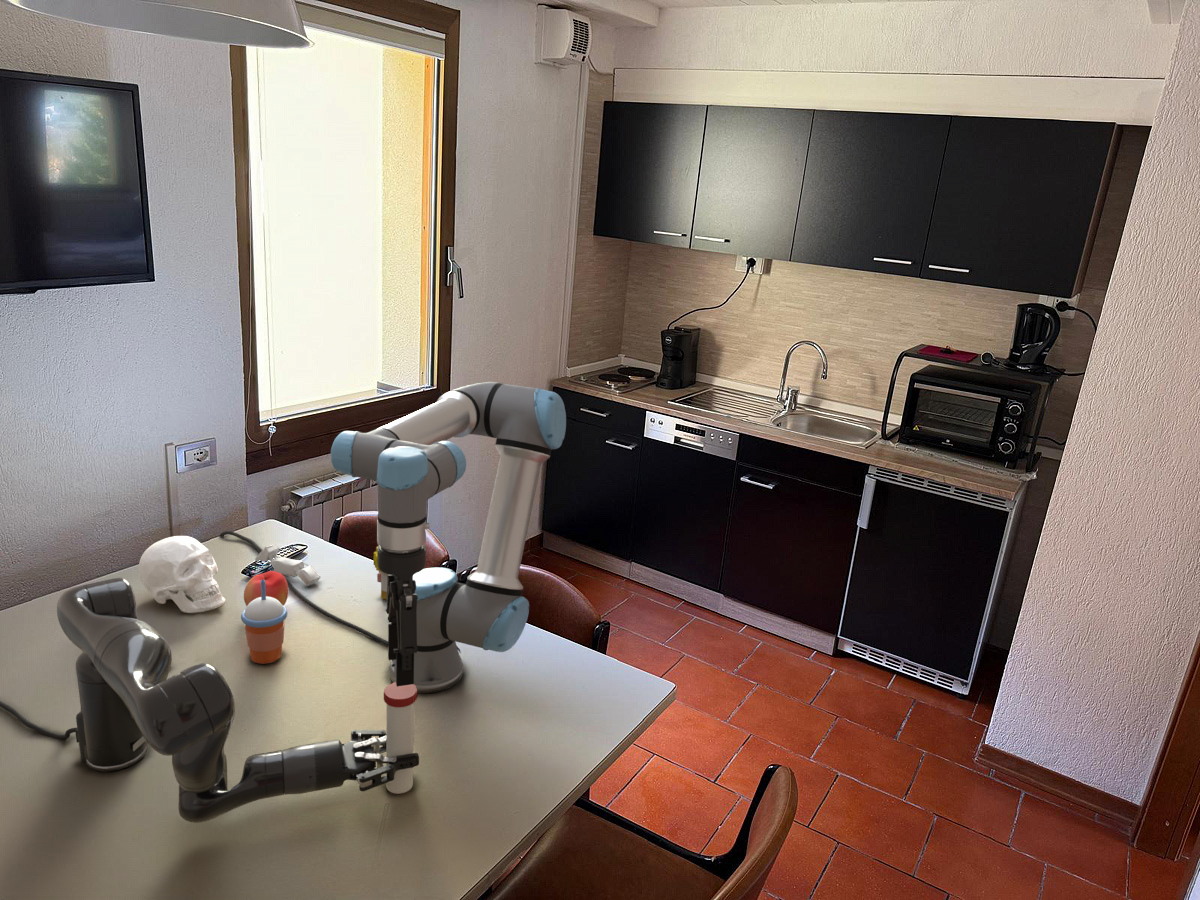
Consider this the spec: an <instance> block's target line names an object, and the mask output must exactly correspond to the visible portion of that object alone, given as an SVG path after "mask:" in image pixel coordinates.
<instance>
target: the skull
mask: <svg viewBox="0 0 1200 900" xmlns="http://www.w3.org/2000/svg"><path fill="white" fill-rule="evenodd" d="M218 573H219V569H218V566H217V562H216V561H215V558H214V556H213V554H212V553H211V551H210V549H208V548H207V547H206V546H205V545H203V543H201V542H200V541H199V540H198V539H196V538H194V537H191V536H188V535H174V536H169V537H166V538H163V539H160V540H158V541H156V542H154V543H152V544H151V545H150V546H149V547H147V549H145V550H144V552H143V553H142V555H141V557H140V559H139V563H138V575H139V579H140V581H141V583H142V585H143V586H144V588H145V589H146V590H147V591H148V592H149V594H150V595H151V596H152V598H153V600H154V601H155V602H157V603H158V604H163V605H164V604H166V603H167V601H168V600H172V601H173V602H174V603H175V605H176V606H177V607H178V608H179V610H180V611H181V612H183V613H187V614H197V613H203V612H207V611H210V610H214V609H217V608H219V607H221V606H223V605H224V604H226V598H225V597H224V596H223V594H222V591H221V590H220V585H219V584H218V582H217V581H216V579H215V578H214V575H217V574H218ZM208 593H209V594H208ZM187 596H188V597H190V598H191V599H192V601H191V600H190V599H188V598H187ZM183 609H185V610H183ZM203 610H204V611H203ZM205 610H206V611H205Z"/></svg>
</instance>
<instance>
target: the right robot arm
mask: <svg viewBox="0 0 1200 900" xmlns="http://www.w3.org/2000/svg"><path fill="white" fill-rule="evenodd" d="M566 430H567V412H566V409H565V404H564V401H563V399H562V397H561V396H560V395H559V394H558V393H556V392H555V391H551V390H547V389H543V388H541V387H540V388H539V387H531V386H530V387H529V386H523V385H516V384H508V383H503V382H498V381H485V382H484V381H483V382H476V383H472V384H467V385H464V386H460V387H458V388H455V389H452V390H450V391H447V392H445V393H443V394H441V395H440V396H439V398H438V399H437V400H436V402H435V403H432V404H430V405H428V406H425V407H423V408H421V409H419V410H416V411H414V412H412V413H410V414H408V415H406V416H403V417H401V418H398V419H396V420H394V421H392V422H389V423H388V424H385V425H382V426H380V427H378V428H375V429H372V430H370V431H368V432H361V431H359V430H358V431H357V430H355V431H353V430H343V431H342V432H340V433H339V434H338V435H337V436H336V437H335V438H334V441H333V442H332V446H331V448H330V461H331V465H332V468H333V469H334V470H335V471H336V472H338V473H340V474H344V475H347V476H351V477H352V478H360V479H365V480H369V481H370V480H371V481H374V482H375V481H376V482H377V483H376V484H377V487H376V488H377V519H376V543H377V547H378V549H377V565H378V568H379V569H380V570H381V571H382V572H384V573H386V574H387V600H386V607H385V613H386V615H387V621H388V623H389V624H387V626H388V627H387V629H388V630H387V639H384V638H382V637H380V636H378V635H375V634H374V633H372V632H370V631H368V630H366V629H364V628H362V627H360V626H358V625H355V624H353V623H351V622H349V621H347V620H345V619H342V618H340V617H338V616H336V615H334V614H332V613H330V612H329V611H327V610H325V609H323V608H322V607H320V606H318V605H317V604H315V603H314V602H312V601H311V600H309V598H307V597H306V596H305V595H304V594H302V593H301V592H300V591H299V590H298V589H297V588H296V587H295V586H293V584H292V583H291V581H290V580H288V579H287V577H286V575H283V574H282V575H283V576H284V577H285V579H286V581H287V584H288V589H289V590H290V591H291V592H292V593H293V594H294V595H295V596H297V597H298V598H299V599H300V600H301V601H302V602H304V603H305V604H306V605H308V606H309V607H310V608H312V609H313V610H315V611H316V612H318V613H319V614H321V615H323V616H325V617H327V618H328V619H331V620H333V621H334V622H336V623H338V624H339V625H340V624H341V625H343V626H345V627H347V628H350V629H352V630H354V631H356V632H358V633H360V634H362V635H364V636H366V637H368V638H370V639H372V640H374V641H376V642H378V643H380V644H382V645H384V646H386V647H387V648H388V649H387V659H388V661H390V664H389V679H390V681H391V683H394V682H396V685H397V686H404V685H411V684H414V685H415V686H416V688H417V694H430V693H431V694H432V693H438V692H441V691H445V690H447V689H450V688H451V687H453V686H455V685H456V684H457V683H458V682H459V681H460V680H461V679H462V676H463V672H464V664H463V660H462V657H461V656H460V654H462V652H461V649H460V647H459V646H457V643H460V644H464V645H469V646H472V647H477V648H479V649H483V651H491V652H498V653H505V652H507V651H509V650H510V649H512V648H513V647H514V646H515V645H516V644H517V642H518V640H519V639H520V637H521V635H522V634H523V631H524V629H525V627H526V625H527V621H528V617H529V612H530V602H529V600H528V599H527V598H526V597H525V596H523V592H524V586H523V585H522V583H521V581H520V579H519V574H520V569H521V564H522V559H523V555H524V550H525V546H526V539H527V535H528V530H529V526H530V521H531V517H532V510H533V505H534V501H535V496H536V491H537V487H538V483H539V482H538V481H539V477H540V471H541V466H542V464H543V463H544V462H546V461H547V460H549V459H550V458H551V454H552V450H557V449H559V448H560V447H561V446H563V445H562V444H563V441H564V439H565V437H566ZM468 435H475V436H481V437H488V438H492V439H496V440H495V443H494V444H495V445H494V447H495V449H496V450H497V452H498V454H499V461H498V465H497V472H496V475H495V476H496V477H495V480H494V485H493V490H492V494H491V499H490V504H489V508H488V513H487V518H486V523H485V528H484V533H483V537H482V543H481V547H480V552H479V557H478V562H477V566H476V570H475V571H474V572H472V573H470V574H469V575H468V576H467V577H466V578H467V579H466V582H465V583H462V582H458V580H459V579H458V575H457V573H456V572H455V571H454V570H453V569H450V568H448V567H447V568H446V567H427V568H425V567H426V564H427V563H426V561H427V560H426V559H427V546H426V541H427V532H426V530H428V529H430V527H431V525H430V523H429V522H427V511H428V509H427V507H428V500H430V499H431V498H433V497H434V496H436V495H437V494H439V493H441V492H442V491H445V490H447V489H449V488H451V487H452V486H454V484H456V483H457V481H459V480H460V479H461V478H463V476H464V474H465V472H466V469H467V459H466V456H465V454H464V451H463V450H462V449H461V447H459V446H458V445H457V444H456V443H454V442H452V441H450V439H452V438H464V437H467V436H468ZM227 535H230V536H233V537H236V538H238V539H240V540H243V541H245V542H247V543H249V544H250V545H251V546H252V547H253V548H254V549H255V550H256V551H257V552H259V554H260V553H261V551H262V550H263V548H262V547H260V546H259V545H258V544H257V543H256V542H255V541H253V540H252V539H251V538H249V537H246V536H244V535H242V534H240V533H238V532H234V531H230V530H225V531H223V532H221V533H220V534H219V537H224V536H227Z"/></svg>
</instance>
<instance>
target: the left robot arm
mask: <svg viewBox="0 0 1200 900" xmlns="http://www.w3.org/2000/svg"><path fill="white" fill-rule="evenodd" d="M137 611H138V609H137V601H136V596H135V591H134V589H133V587H132V585H131V582H129V581H128V580H127V579H126V578H124V577H113V578H108V579H105V580H99V581H96V582H92V583H91V582H90V583H87V584H86V583H85V584H83V585H77V586H75V587H72V588H69V589H67V590H66V591H64V592H63V593H62V594H61V595H60V596H59V599H58V601H57V604H56V615H57V620H58V623H59V625H60V628H61V630H62V632H63V633H64V635H65V636H66V637H67V639H68V640H69V641H70V642H71V643H72V644H73V645H74V646H75V647H77V648H78V649H79V650H81V651H82V652H80V654H79V655H78V657H77V659H76V661H75V673H76V679H77V680H76V681H77V688H78V695H79V696H78V697H79V703H80V704H79V705H80V711H79V712H78V713H77V714H76V715H75V721H76V727H71V728H68V729H67V730H66V731H65V733H64V734H61V733H56V732H54V731H53V732H52V731H50V730H48V729H45V728H43V727H41V726H39V725H37V724H35V723H33V722H31V721H29V720H28V719H26V718H25V717H24V716H23V715H22V714H21V713H20V712H18V711H17V710H16V709H15V708H13V707H12V706H10V705H8V704H6V703H5V702H3V701H2V700H1V701H0V708H2V709H3V710H5V711H7V712H8V713H10V714H11V715H13V716H14V717H15V718H16V719H17V720H18V721H19V722H21V724H23V725H24V726H26V727H28V728H30V729H31V730H33V731H36V732H37V733H40V734H42V735H44V736H47V737H51V738H54V739H57V740H67V739H69V738H70V736H71V734H74V733H75V738H76V743H78V746H79V755H80V762H81V764H86V765H87V767H89V768H90V769H91V770H93V771H97V772H115V771H120V770H122V769H125V768H128V767H131V766H132V765H134V764H136V763H138V762H139V761H140V760H142V759H143V757H145V755H146V754H147V751H148V745H149V746H150V747H151V748H152V749H153V750H154V751H155V752H157V753H158V754H160V755H162V756H166V757H170V756H171V764H172V769H173V774H174V778H175V780H176V782H177V784H178V807H177V808H178V809H177V810H178V814H179V816H180V817H181V819H183V820H184V821H186V822H188V823H192V824H193V823H194V824H196V823H197V824H199V823H205V822H209V821H211V820H213V819H216V818H219V817H221V816H222V815H224V814H226V813H229V812H231V811H233V810H235V809H237V808H239V807H242V806H245V805H247V804H250V803H253V802H256V801H260V800H264V799H269V798H275V797H281V796H286V795H301V794H307V793H312V792H319V791H324V790H328V789H334V788H341V787H342V786H343V785H344V782H345V781H356V782H357V783H358V785H359V786H358V788H359V789H358V790H359V792H366V791H368V790H372V789H374V788H376V787H379V786H382V785H384V784H385V785H386V783H387V782H390V781H393V780H394V775H395V773H396V771H398V770H402V769H407V768H413V769H414V768H416V767H418V766H419V765H420V755H419V753H418V752H413V753H412V754H406V755H400V756H396V757H386V756H384V755H383V754H385V753H386V729H353V730H350V741H347V742H344V743H342V742H341V740H339V739H332V740H327V741H326V740H325V741H319V742H315V743H314V742H313V743H307V744H301V745H300V744H299V745H296V746H295V745H294V746H293V747H289V748H285V749H282V750H274V751H268V752H267V751H266V752H261V753H255V754H252V755H250V756H248V757H247V758H245V761H244V765H243V768H242V775H241V778H240V781H239V782H237V784H235V785H234V786H232V787H231V788H229V789H228V760H227V756H226V754H225V745H226V742H227V739H228V737H229V734H230V731H231V728H232V725H233V723H234V719H235V716H236V704H235V697H234V694H233V692H232V690H231V688H230V686H229V684H228V682H227V680H226V679H225V678H224V676H223V674H222V673H221V672H220V671H219V669H218V668H217V667H215V666H214V665H213V664H210V663H206V662H202V663H197V664H194V665H192V666H190V667H188V668H185V669H184V670H181V671H180V672H178V673H176V674H174V675H172V676H171V677H169V678H168V676H169V673H170V672H171V671H170V670H171V667H172V662H173V657H172V655H173V653H172V649H171V646H170V645H169V643H168V641H167V640H166V638H165V637H163V636H162V635H161V633H159V631H157V630H156V628H154V627H153V626H152V625H151V624H149V623H147V622H145V621H143V620H140V619H138V615H137V614H138V613H137ZM377 737H378V738H377ZM384 764H385V765H384ZM386 764H388V765H387V766H386ZM386 773H387V775H386ZM383 775H384V776H383Z"/></svg>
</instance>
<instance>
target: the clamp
mask: <svg viewBox="0 0 1200 900" xmlns="http://www.w3.org/2000/svg"><path fill="white" fill-rule="evenodd" d="M280 549H281V547H279V546H278V545H277V544H272V545H266V546H264V547H263V548H262V551H261V553H260V552H259V554H258V555H257V556H256V557H255V559H254V562H255V563H256V561H259V560H262V561H268V560H271V562H270V563H269V564H271V565H272V566H273V568H274V571H275V572H278V573H281V574H283V575H284V576H288V577H292V578H296V577H298V578H299V579H300V580H301V582H303V584H304V585H305V587H309V586H312V585H314V584H316V583H318V582H319V580H320V579H321V578H322V577H321V575H320V574H319V573H318V572H317V570H315V569H314V568H313V566H312V565H310V564H309V565H308V564H307V563H305V562H304V561H303V560H301V559H300V560H299V559H292V558H289V557H285V556H278V553H279V551H280ZM273 558H274V559H273ZM272 559H273V560H272ZM305 566H306V567H305ZM270 571H271V570H270Z"/></svg>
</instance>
